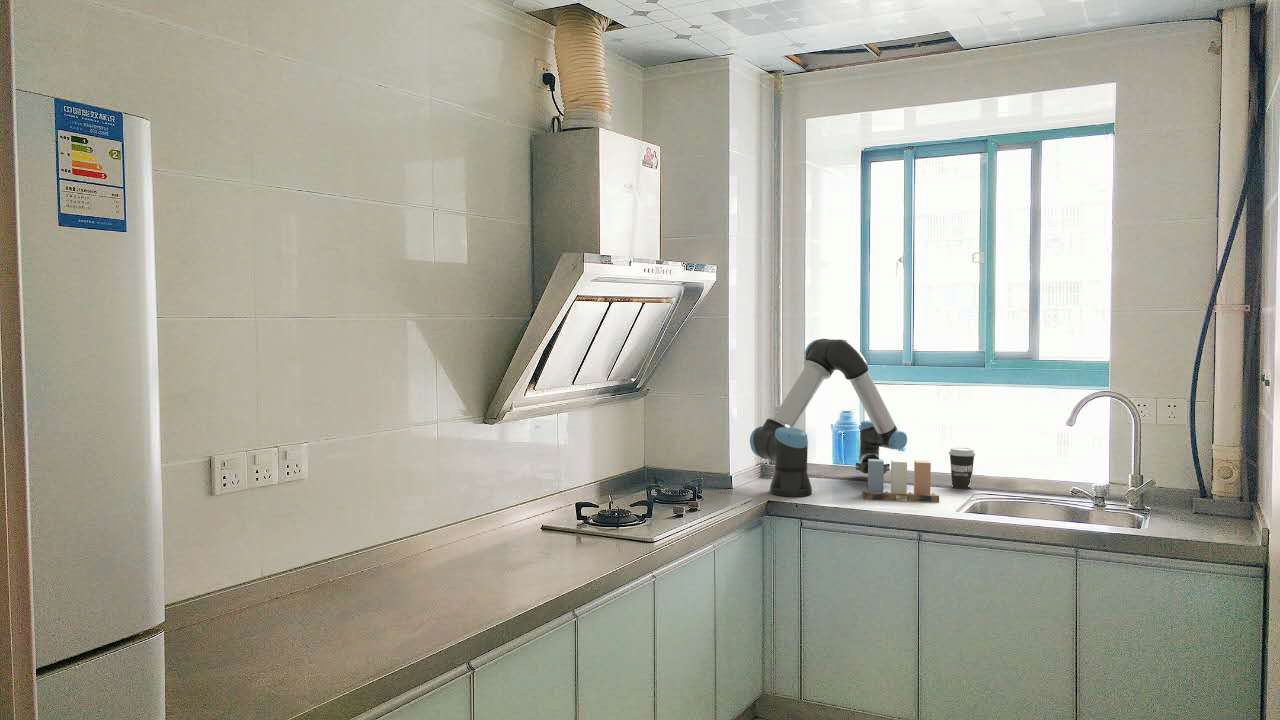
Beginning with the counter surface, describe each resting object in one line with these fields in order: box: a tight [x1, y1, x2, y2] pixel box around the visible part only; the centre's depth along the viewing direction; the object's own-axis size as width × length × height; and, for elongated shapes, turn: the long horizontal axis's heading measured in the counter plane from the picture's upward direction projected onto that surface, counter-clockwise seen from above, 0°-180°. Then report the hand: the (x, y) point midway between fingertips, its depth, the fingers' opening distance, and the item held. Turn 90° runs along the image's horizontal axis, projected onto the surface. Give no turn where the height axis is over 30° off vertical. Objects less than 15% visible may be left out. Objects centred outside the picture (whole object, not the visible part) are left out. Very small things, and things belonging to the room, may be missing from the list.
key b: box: [890, 459, 908, 494], centre depth 322 cm, size 5×5×12 cm
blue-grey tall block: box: [867, 458, 885, 493], centre depth 323 cm, size 5×5×12 cm
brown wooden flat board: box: [861, 490, 940, 503], centre depth 320 cm, size 25×15×3 cm, turn 79°
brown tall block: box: [913, 459, 932, 495], centre depth 321 cm, size 5×5×12 cm
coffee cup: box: [948, 446, 976, 489], centre depth 340 cm, size 10×10×15 cm
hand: (875, 473), depth 329 cm, fingers closed
